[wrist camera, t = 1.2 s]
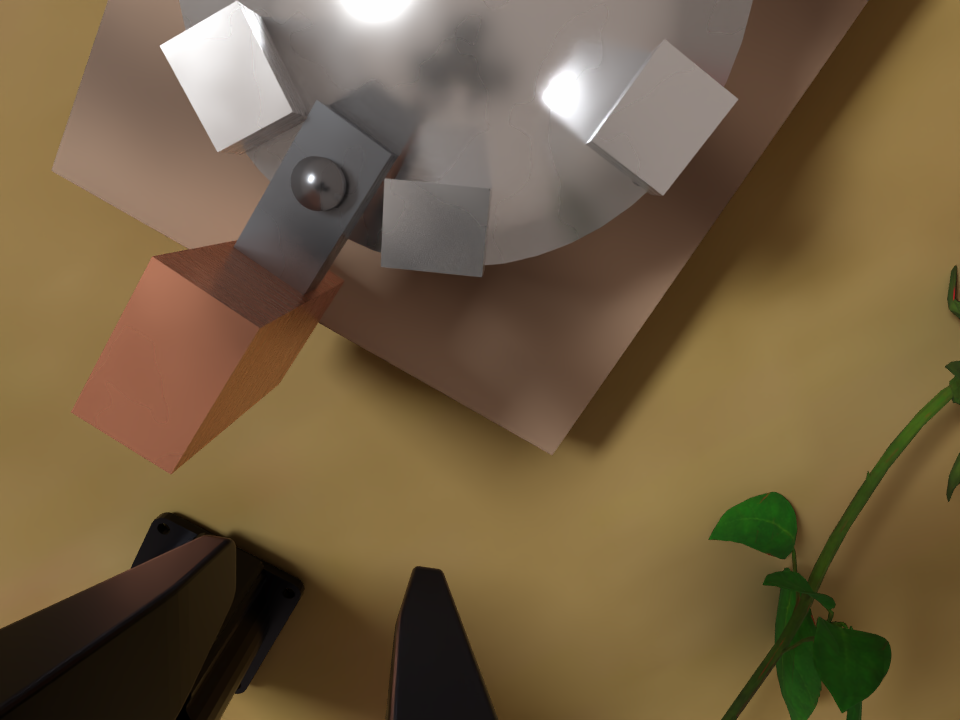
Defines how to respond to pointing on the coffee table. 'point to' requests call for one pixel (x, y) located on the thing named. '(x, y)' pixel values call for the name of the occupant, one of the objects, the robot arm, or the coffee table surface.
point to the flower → (798, 641)
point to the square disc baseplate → (438, 296)
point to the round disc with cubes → (397, 169)
